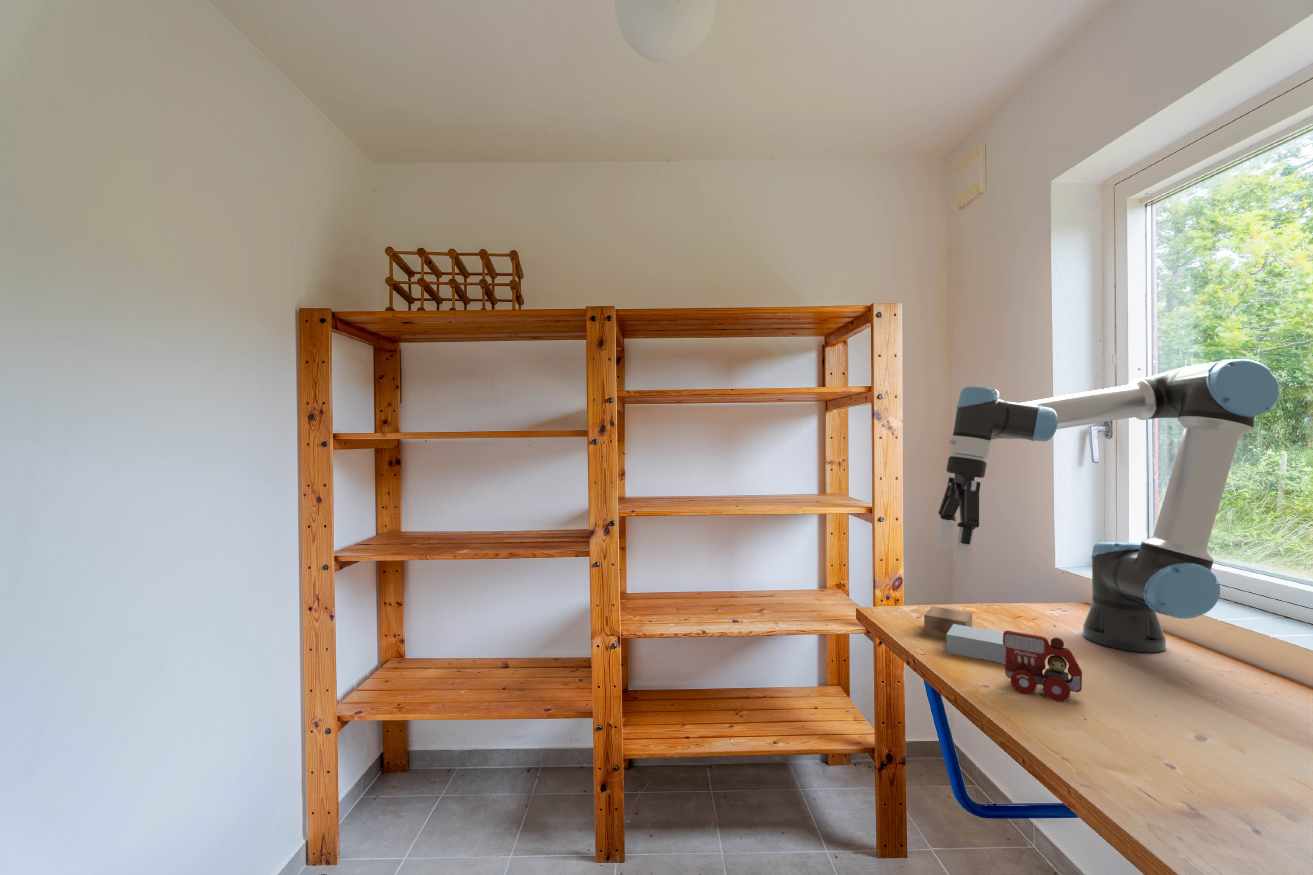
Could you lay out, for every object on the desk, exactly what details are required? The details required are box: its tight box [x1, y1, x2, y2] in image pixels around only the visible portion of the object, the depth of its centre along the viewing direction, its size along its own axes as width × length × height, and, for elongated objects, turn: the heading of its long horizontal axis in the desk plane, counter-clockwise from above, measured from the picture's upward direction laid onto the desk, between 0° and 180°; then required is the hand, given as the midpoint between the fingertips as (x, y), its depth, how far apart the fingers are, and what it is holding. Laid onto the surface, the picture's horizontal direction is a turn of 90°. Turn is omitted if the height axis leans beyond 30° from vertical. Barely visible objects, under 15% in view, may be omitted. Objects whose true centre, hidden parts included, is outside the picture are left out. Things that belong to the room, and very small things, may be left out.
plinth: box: [945, 624, 1006, 665], centre depth 129 cm, size 16×9×4 cm, turn 54°
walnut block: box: [923, 606, 973, 639], centre depth 143 cm, size 9×9×5 cm
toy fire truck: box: [1003, 630, 1083, 702], centre depth 110 cm, size 7×12×10 cm, turn 56°
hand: (951, 553), depth 130 cm, fingers open, 13 cm apart
